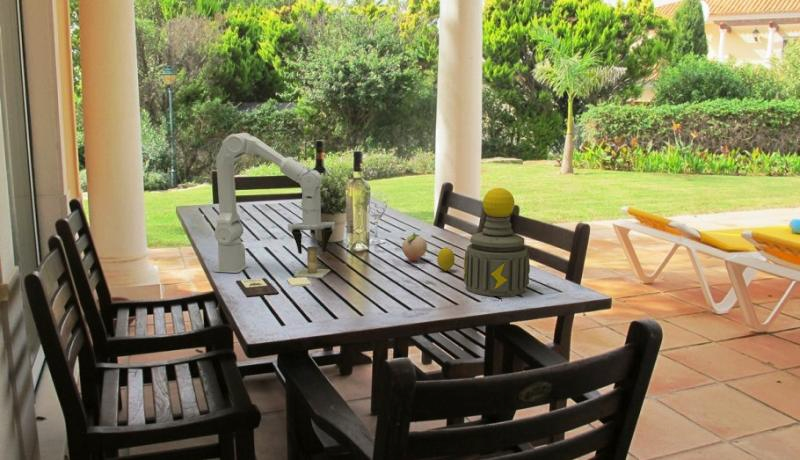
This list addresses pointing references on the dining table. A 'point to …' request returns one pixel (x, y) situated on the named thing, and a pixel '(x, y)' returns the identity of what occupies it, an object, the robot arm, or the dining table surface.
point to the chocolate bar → (257, 287)
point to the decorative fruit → (414, 247)
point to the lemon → (445, 258)
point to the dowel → (312, 259)
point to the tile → (298, 281)
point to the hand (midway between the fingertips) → (311, 252)
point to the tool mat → (319, 274)
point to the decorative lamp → (497, 251)
